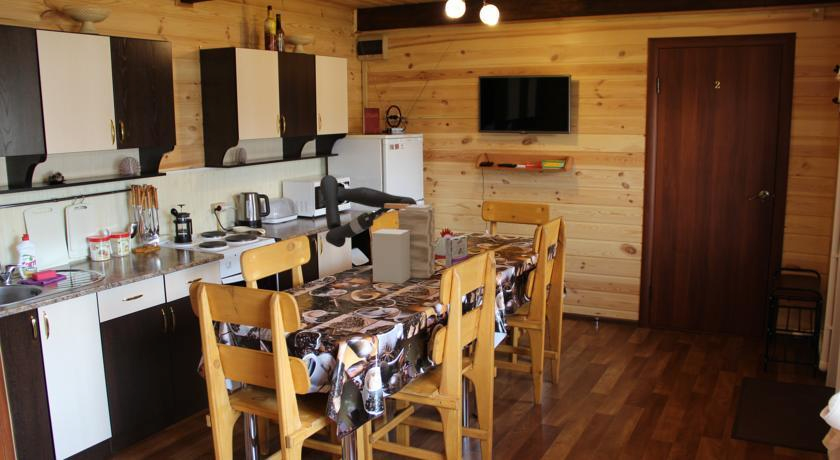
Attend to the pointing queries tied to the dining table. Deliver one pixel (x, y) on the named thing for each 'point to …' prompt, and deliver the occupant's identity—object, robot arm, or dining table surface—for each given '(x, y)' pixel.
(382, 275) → the grey upright block
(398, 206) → the turner
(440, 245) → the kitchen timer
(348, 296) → the dining table surface
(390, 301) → the dining table surface
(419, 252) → the tall stand
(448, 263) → the candy bar box
